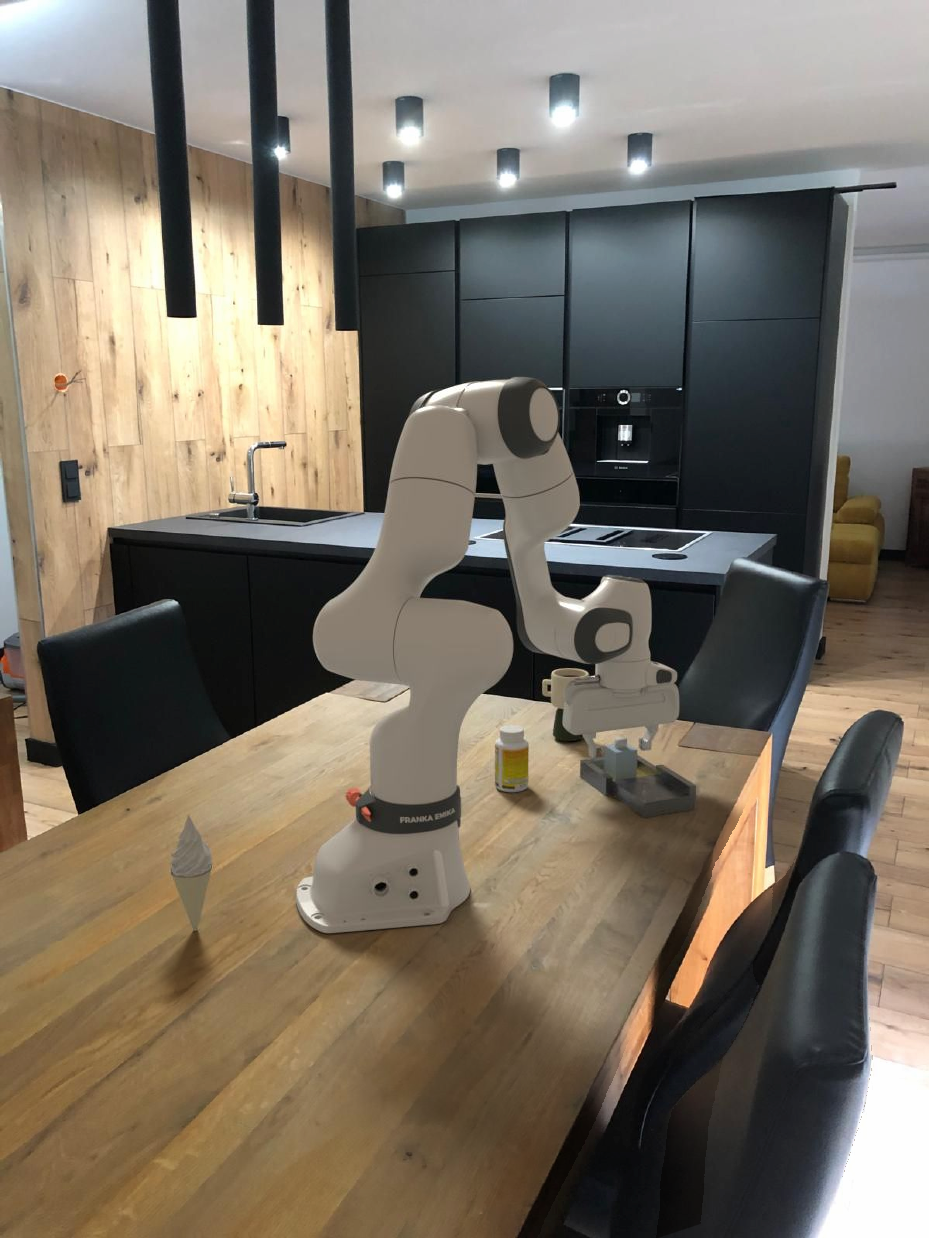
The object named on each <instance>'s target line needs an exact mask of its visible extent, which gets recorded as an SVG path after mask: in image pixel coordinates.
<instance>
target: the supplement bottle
mask: <svg viewBox="0 0 929 1238" xmlns="http://www.w3.org/2000/svg"><path fill="white" fill-rule="evenodd" d="M529 752H530V751H529V741H528V740H527V738H525V730H524V727H522V726H520V725H515V724H511V725H509V724H508V725H504V726H501V727H500V728H499V737H498V738H497V739H496V740H495V742H494V785H495V788H496V789H498V790H499V791H501V792H505V793H520V792H523V791H525V790H526V789H527V788H528V787H529V761H530V760H529Z"/></svg>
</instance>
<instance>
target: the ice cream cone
mask: <svg viewBox="0 0 929 1238" xmlns="http://www.w3.org/2000/svg"><path fill="white" fill-rule="evenodd" d="M178 838H179V842H178V844H177V845H176V846H175V847H174V849H175V850H174V851H172V853H171V854H170V856H171V857H172V858H173V859H172V860H171V862H170V866H171V868H169V875H171V877H172V880H173V881H174V886H175V887H176V890H177V892H178V895H179V898H180V900H181V903H182V905H183V907H184V910H185V913H186V915H187V918H188V920H189V923H190V926H191V928H192V930H193V931H194V932H197V931H198V929H199V925H200V919H201V916H202V912H203V908H204V903H205V899H206V894H207V891H208V885H209V880H210V876H211V874H212V870H213V868H214V866H213V865H214V863H213V861H214V860H213V859H214V858H213V854H212V851H211V848H210V845H208V844H207V843H206V842H204V841H203V839H202V834H201V833H200V831H199V830H198V829H197V828H196V826H195V824H194V822H193V820H192V819H191V816H190V814H187V816H186V821H185V824H184V827H183V829H182V832H181V833H180V834H179V835H178Z"/></svg>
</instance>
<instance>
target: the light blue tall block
mask: <svg viewBox="0 0 929 1238" xmlns="http://www.w3.org/2000/svg"><path fill="white" fill-rule="evenodd" d="M603 749H604V751H603V757H604V772H606V773H607V774H609V775H610V776H611V777H613V780H614V781H616V780H622V779H629V778H636V777H637V755H638V749H637V748H635V747H633V745H630V744H629V743H628V738H627V737H625V736H624V737H623V736H618V737H615V738H614V743H612V744H605V745H604V746H603Z"/></svg>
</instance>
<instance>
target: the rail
mask: <svg viewBox="0 0 929 1238" xmlns="http://www.w3.org/2000/svg"><path fill="white" fill-rule="evenodd" d="M579 761H580V762H579V765H580V766H579V777H580V778H581V779H583V780H584V782H586V783H587V784H589V785H590V786H592V787H593V788H594V789H596V790H597V791H599V793H601V794H603V795H604V796H613V797H615V798H616V799H617V800H619V801H620V802H622V804H624V805H626V807H628V808H630V809H631V810H632V811H633V812H635V813H636V814H637V815H639V814H640V815H639V816H640V817H642V818H644V819H647V818H651V817H657V815H658V816H663V815H662V814H664V815H669V814H668V813H670V814H674V812H676V813H680V812H679V811H682V812H688V811H693V810H692V809H694V810H696V801H697V800H696V799H697V797H696V796H697V784H696V783H693V782H692V781H690V780H689V779H687V778H685V777H684V776H682V775H680V774H679V773H677V772H676V771H674V770H672V769H671V768H669V767H667V766H666V765H664V764H655V765H654V764H653V763H651V762H649V761H648V760H646V759H645V758H644V757H642V756H640V755H639V754H637V777H636V778H629V779H622V780H616V781H614V780H613V777H611V776H610V775H609V774H607V773H606V772H604V756H601V757H595V758H592V757H591V758H586V759H580V760H579Z"/></svg>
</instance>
